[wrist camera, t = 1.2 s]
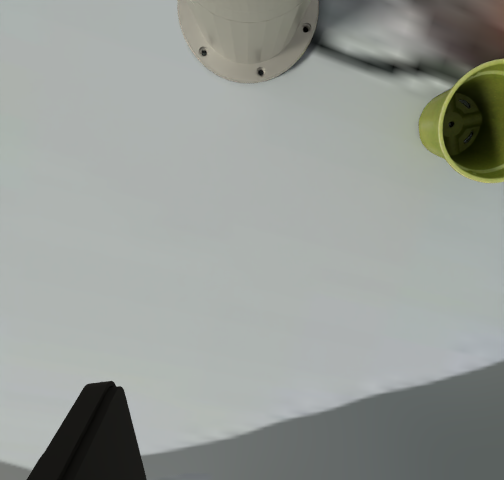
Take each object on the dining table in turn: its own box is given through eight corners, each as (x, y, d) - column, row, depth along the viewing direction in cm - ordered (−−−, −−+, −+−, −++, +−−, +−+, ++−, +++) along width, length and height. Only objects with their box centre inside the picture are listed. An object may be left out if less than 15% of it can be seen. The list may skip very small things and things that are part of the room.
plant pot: (457, 190, 43) (509, 204, 34) (381, 143, 41) (415, 144, 33) (515, 107, 41) (586, 100, 32) (437, 54, 39) (489, 33, 31)
